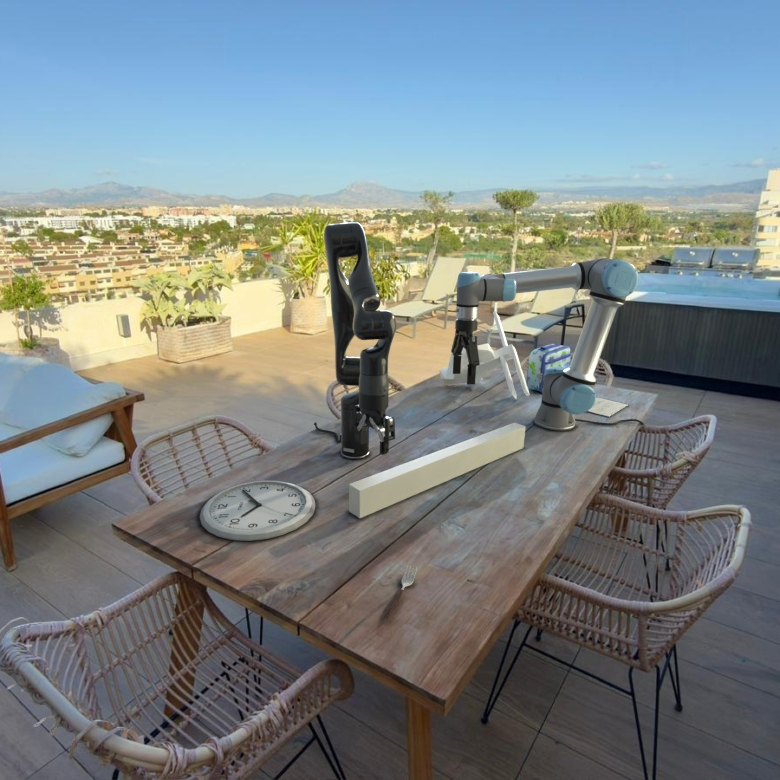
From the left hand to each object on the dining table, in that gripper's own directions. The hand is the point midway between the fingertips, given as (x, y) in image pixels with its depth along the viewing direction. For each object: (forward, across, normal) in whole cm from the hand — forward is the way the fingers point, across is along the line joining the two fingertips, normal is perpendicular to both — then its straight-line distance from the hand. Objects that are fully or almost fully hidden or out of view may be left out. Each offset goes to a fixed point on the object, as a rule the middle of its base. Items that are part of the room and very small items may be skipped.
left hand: (373, 448), depth 137 cm
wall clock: (+17, -19, -24) cm, 35 cm away
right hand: (-5, -18, +56) cm, 59 cm away
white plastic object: (+18, -49, +105) cm, 117 cm away
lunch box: (+17, -32, +135) cm, 140 cm away
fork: (+17, +31, -18) cm, 40 cm away
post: (+17, 0, +30) cm, 35 cm away
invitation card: (+17, -2, +130) cm, 131 cm away
